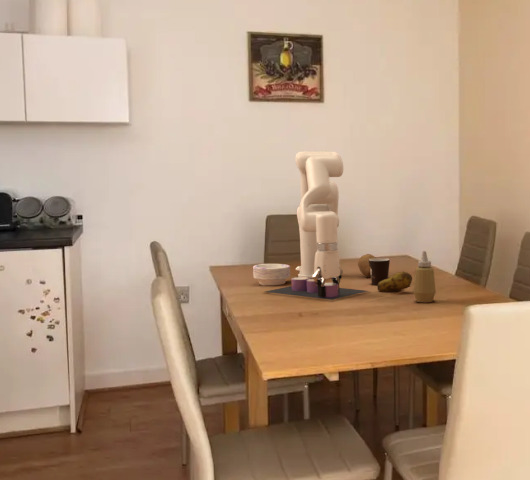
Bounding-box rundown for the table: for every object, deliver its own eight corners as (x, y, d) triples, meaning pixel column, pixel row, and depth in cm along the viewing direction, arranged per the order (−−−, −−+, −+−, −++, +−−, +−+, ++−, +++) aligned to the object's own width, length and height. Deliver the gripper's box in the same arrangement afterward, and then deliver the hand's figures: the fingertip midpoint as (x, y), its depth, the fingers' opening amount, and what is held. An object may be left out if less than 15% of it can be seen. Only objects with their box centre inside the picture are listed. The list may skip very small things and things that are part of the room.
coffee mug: (387, 285, 312) (387, 261, 310) (367, 285, 314) (366, 260, 312) (393, 281, 323) (393, 257, 321) (373, 281, 325) (373, 257, 323)
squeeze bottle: (421, 298, 283) (420, 249, 279) (440, 300, 278) (440, 250, 274) (409, 302, 276) (408, 251, 272) (428, 304, 272) (427, 253, 268)
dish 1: (287, 290, 302) (287, 278, 301) (300, 287, 308) (299, 276, 307) (301, 291, 298) (301, 280, 297) (314, 289, 304) (313, 277, 303)
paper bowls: (298, 284, 320) (297, 264, 318) (269, 288, 309) (268, 269, 308) (275, 280, 330) (274, 262, 328) (246, 285, 319) (245, 265, 318)
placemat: (264, 293, 300) (264, 291, 299) (302, 285, 317) (302, 283, 317) (331, 301, 280) (331, 299, 280) (368, 292, 298) (368, 290, 298)
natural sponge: (369, 274, 343) (369, 252, 341) (383, 276, 337) (383, 253, 335) (354, 277, 337) (353, 254, 335) (368, 279, 331) (367, 255, 328)
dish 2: (315, 296, 287) (314, 284, 286) (327, 293, 293) (327, 282, 292) (330, 298, 283) (329, 286, 282) (342, 295, 289) (342, 283, 288)
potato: (382, 290, 303) (382, 269, 301) (414, 291, 299) (414, 270, 297) (375, 293, 295) (375, 272, 293) (408, 295, 291) (407, 273, 289)
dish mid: (302, 291, 298) (302, 280, 297) (315, 289, 303) (314, 277, 302) (317, 293, 294) (316, 281, 293) (329, 290, 299) (328, 279, 298)
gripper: (334, 244, 293) (335, 290, 297) (303, 249, 279) (305, 297, 283) (350, 245, 289) (351, 292, 293) (319, 250, 275) (321, 299, 279)
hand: (328, 294), depth 288 cm, fingers closed on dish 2, 7 cm apart
